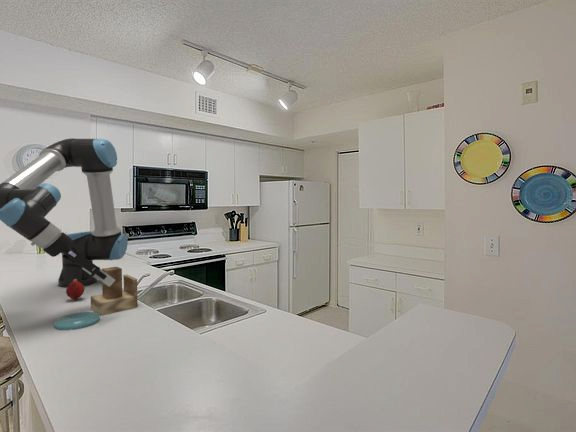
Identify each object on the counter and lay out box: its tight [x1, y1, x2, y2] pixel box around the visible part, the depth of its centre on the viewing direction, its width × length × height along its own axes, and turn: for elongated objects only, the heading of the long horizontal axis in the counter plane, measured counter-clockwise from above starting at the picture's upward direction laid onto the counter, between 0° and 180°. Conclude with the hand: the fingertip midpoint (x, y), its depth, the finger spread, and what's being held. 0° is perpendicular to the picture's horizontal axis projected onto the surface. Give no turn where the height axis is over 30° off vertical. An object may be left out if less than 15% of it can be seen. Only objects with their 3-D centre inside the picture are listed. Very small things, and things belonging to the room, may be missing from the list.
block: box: [101, 266, 123, 300], centre depth 117 cm, size 5×5×10 cm
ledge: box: [90, 274, 139, 316], centre depth 117 cm, size 12×11×10 cm
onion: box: [65, 279, 85, 301], centre depth 126 cm, size 6×6×8 cm
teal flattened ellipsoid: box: [53, 311, 101, 331], centre depth 103 cm, size 12×12×1 cm
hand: (105, 279), depth 114 cm, fingers open, 13 cm apart
